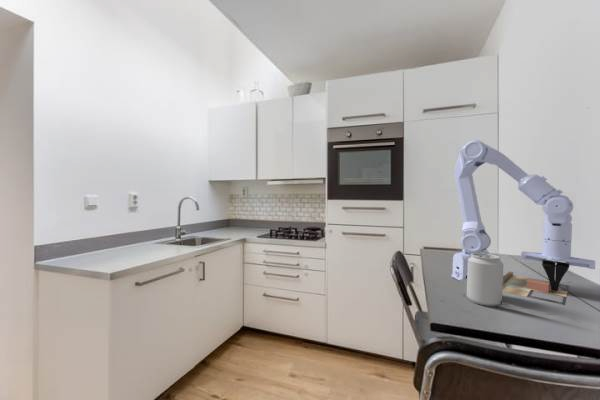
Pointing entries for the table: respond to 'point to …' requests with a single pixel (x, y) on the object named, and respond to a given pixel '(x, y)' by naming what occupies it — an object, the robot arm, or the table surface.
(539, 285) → the tile block
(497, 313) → the table surface
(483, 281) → the can
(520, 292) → the trap board
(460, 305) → the table surface
